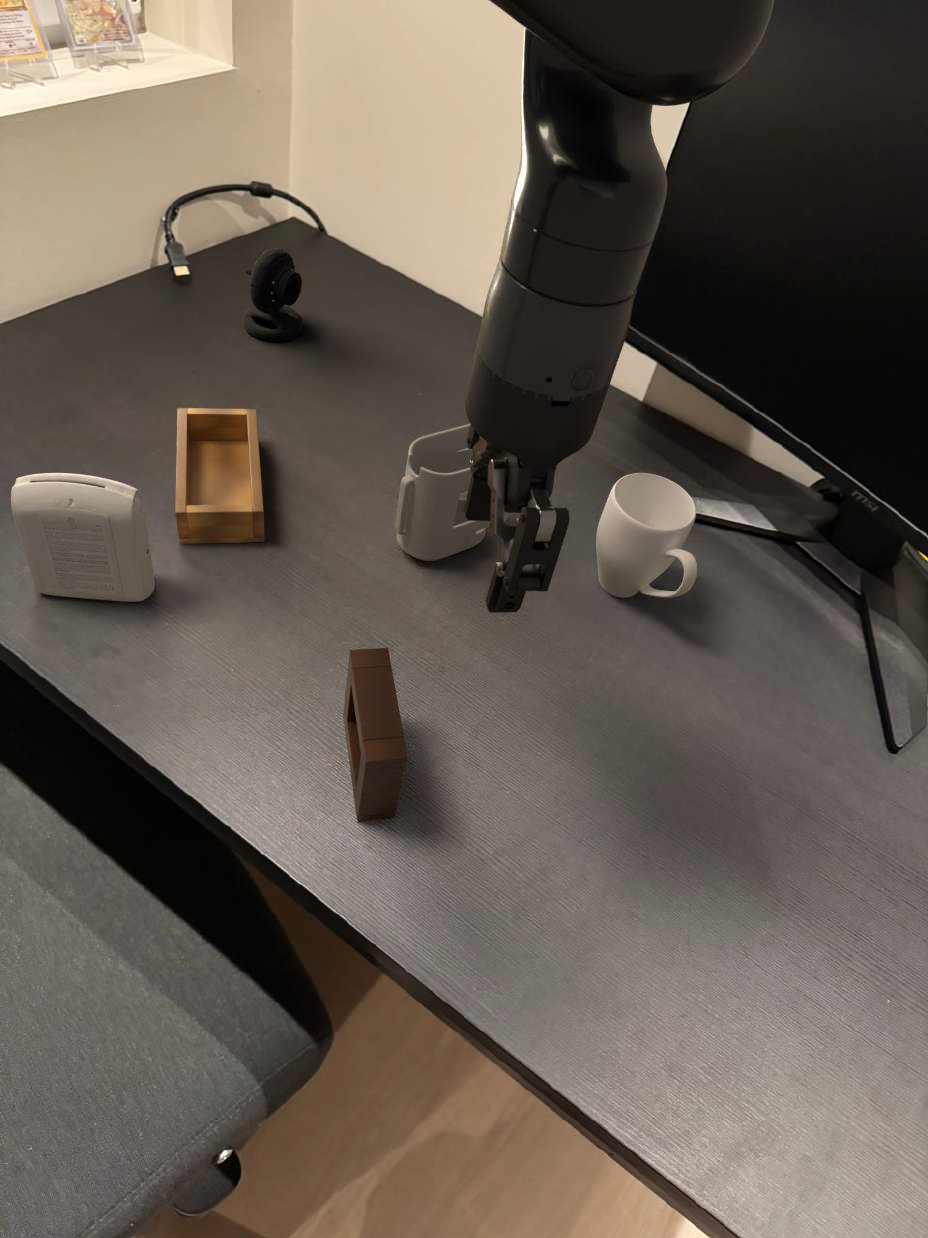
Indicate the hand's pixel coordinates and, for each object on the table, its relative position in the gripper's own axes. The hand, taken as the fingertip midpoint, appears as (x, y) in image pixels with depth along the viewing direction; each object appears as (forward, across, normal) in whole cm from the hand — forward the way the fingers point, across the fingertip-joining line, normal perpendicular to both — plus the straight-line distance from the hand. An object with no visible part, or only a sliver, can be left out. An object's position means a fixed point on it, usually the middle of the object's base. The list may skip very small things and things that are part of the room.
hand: (489, 561), depth 57 cm
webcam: (+21, -62, -13) cm, 66 cm away
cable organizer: (+21, -23, +4) cm, 31 cm away
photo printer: (+21, -17, -30) cm, 40 cm away
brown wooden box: (+21, +3, -7) cm, 22 cm away
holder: (+21, -30, -19) cm, 41 cm away
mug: (+21, -15, +22) cm, 33 cm away
